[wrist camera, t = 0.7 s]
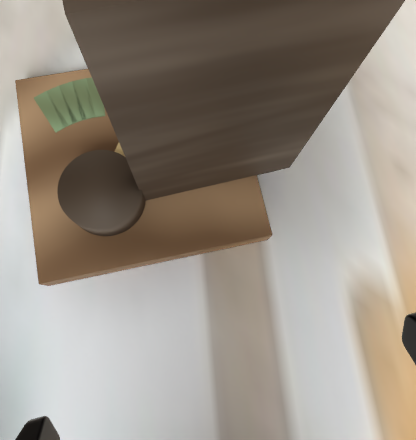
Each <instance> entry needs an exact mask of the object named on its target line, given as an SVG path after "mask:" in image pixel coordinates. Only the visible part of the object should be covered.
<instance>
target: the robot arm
mask: <svg viewBox="0 0 416 440" xmlns="http://www.w3.org/2000/svg"><path fill="white" fill-rule="evenodd" d="M402 341H403V344H404V347H405V348H406V350H407V352H408V353H409V355H410V356H411V358H412V360H413V361H414V363H415V365H416V313H412V314H409V315H407V316H406V317H405V320H404V326H403V332H402ZM15 440H60V437H59V435H58V433H57V431H56V429H55V428H54V426H53V424H52V422H51V421H50V419H49V418H48V417H46V416H43V417H39V418H35V419H32V420H30V421H28V422H27V423H26V424H25V425H24V427H23V429H22V430H21V432H20V433H19V435H18V436H17V438H16V439H15Z"/></svg>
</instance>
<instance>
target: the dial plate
mask: <svg viewBox="0 0 416 440" xmlns="http://www.w3.org/2000/svg"><path fill="white" fill-rule="evenodd" d="M15 82H16V91H17V99H18V108H19V116H20V125H21V134H22V142H23V151H24V160H25V168H26V177H27V186H28V194H29V203H30V211H31V220H32V229H33V237H34V246H35V255H36V263H37V272H38V281H39V284H41V285H47V286H50V285H55V284H60V283H65V282H69V281H74V280H79V279H84V278H88V277H93V276H98V275H103V274H107V273H112V272H117V271H121V270H126V269H131V268H136V267H140V266H145V265H150V264H155V263H159V262H164V261H169V260H174V259H178V258H183V257H188V256H193V255H197V254H202V253H207V252H212V251H216V250H221V249H226V248H231V247H235V246H240V245H245V244H249V243H254V242H259V241H264V240H268V239H269V238H270V237H271V236H272V232H271V228H270V224H269V220H268V217H267V213H266V209H265V205H264V201H263V197H262V194H261V190H260V186H259V182H258V178H257V175H255V176H250V177H246V178H242V179H237V180H233V181H229V182H224V183H220V184H216V185H211V186H207V187H202V188H198V189H194V190H189V191H185V192H181V193H176V194H172V195H168V196H163V197H159V198H155V199H150V200H146V202H145V208H144V211H143V213H142V215H141V217H140V218H139V220H138V221H137V222H136V223H135V224H134V225H133V226H132V227H131V228H130V229H128V230H127V231H125V232H123V233H120V234H117V235H113V236H98V235H94V234H91V233H89V232H87V231H85V230H84V229H82V228H81V227H80V226H78V225H77V224H76V223H75V222H73V221H72V220H71V219H70V218H69V217H68V216H67V215H66V214H65V213H64V212H63V210H62V208H61V206H60V204H59V200H58V194H57V189H58V182H59V179H60V176H61V174H62V172H63V171H64V169H65V168H66V166H67V165H68V164H69V163H70V162H71V161H72V160H74V159H75V158H76V157H78V156H80V155H81V154H84V153H86V152H89V151H94V150H109V151H115V149H116V147H117V145H118V143H119V141H118V138H117V136H116V134H115V131H114V129H113V126H112V124H111V122H110V119H109V117H108V115H107V112H106V110H105V107H104V105H103V103H102V100H101V98H100V96H99V93H98V91H97V88H96V86H95V84H94V81H93V79H92V76H91V74H90V72H89V69H84V70H78V71H71V72H65V73H59V74H53V75H46V76H40V77H34V78H27V79H21V80H15Z"/></svg>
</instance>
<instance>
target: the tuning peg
mask: <svg viewBox="0 0 416 440" xmlns="http://www.w3.org/2000/svg"><path fill="white" fill-rule="evenodd" d="M404 1H405V0H63V5H64V10H65V15H66V17H67V19H68V22H69V24H70V26H71V29H72V31H73V34H74V36H75V38H76V41H77V43H78V45H79V48H80V50H81V53H82V55H83V57H84V60H85V62H86V65H87V67H88V69H89V72H90V74H91V76H92V79H93V81H94V84H95V86H96V88H97V91H98V93H99V96H100V98H101V100H102V103H103V105H104V107H105V110H106V112H107V115H108V117H109V119H110V122H111V124H112V126H113V129H114V131H115V134H116V136H117V138H118V141H119V143H118V145H117V147H116V149H115V151H109V150H94V151H89V152H86V153H84V154H81V155H80V156H78V157H76V158H75V159H74V160H72V161H71V162H70V163H69V164H68V165H67V166H66V168H65V169H64V171H63V172H62V174H61V176H60V179H59V182H58V189H57V194H58V200H59V204H60V206H61V208H62V210H63V212H64V213H65V214H66V215H67V216H68V217H69V218H70V219H71V220H72V221H73V222H75V223H76V224H77V225H78V226H80V227H81V228H82V229H84V230H85V231H87V232H89V233H91V234H94V235H98V236H113V235H117V234H120V233H123V232H125V231H127V230H128V229H130V228H131V227H132V226H133V225H134V224H135V223H136V222H137V221H138V220H139V218H140V217H141V215H142V213H143V211H144V208H145V202H146V200H150V199H155V198H159V197H163V196H168V195H172V194H176V193H181V192H185V191H189V190H194V189H198V188H202V187H207V186H211V185H216V184H220V183H224V182H229V181H233V180H237V179H242V178H246V177H250V176H255V175H259V174H263V173H268V172H272V171H276V170H281V169H285V168H289V167H290V166H291V165H292V163H293V162H294V160H295V159H296V157H297V156H298V154H299V153H300V152H301V150H302V149H303V147H304V146H305V144H306V143H307V141H308V140H309V139H310V137H311V136H312V134H313V133H314V131H315V130H316V128H317V127H318V125H319V124H320V123H321V121H322V120H323V118H324V117H325V115H326V114H327V112H328V111H329V110H330V108H331V107H332V105H333V104H334V102H335V101H336V99H337V98H338V97H339V95H340V94H341V92H342V91H343V89H344V88H345V86H346V85H347V84H348V82H349V81H350V79H351V78H352V76H353V75H354V73H355V72H356V71H357V69H358V68H359V66H360V65H361V63H362V62H363V60H364V59H365V58H366V56H367V55H368V53H369V52H370V50H371V49H372V47H373V46H374V45H375V43H376V42H377V40H378V39H379V37H380V36H381V34H382V33H383V32H384V30H385V29H386V27H387V26H388V24H389V23H390V21H391V20H392V19H393V17H394V16H395V14H396V13H397V11H398V10H399V8H400V7H401V6H402V4H403V3H404Z"/></svg>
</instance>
